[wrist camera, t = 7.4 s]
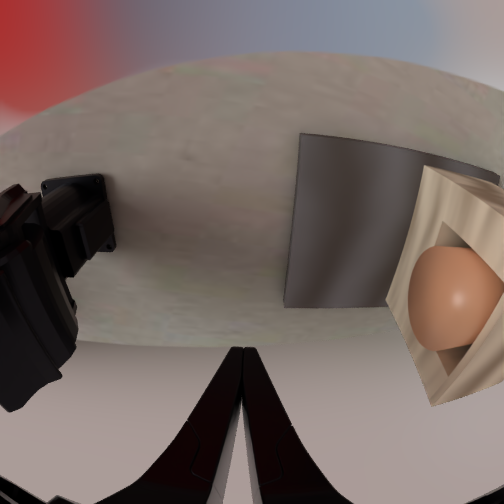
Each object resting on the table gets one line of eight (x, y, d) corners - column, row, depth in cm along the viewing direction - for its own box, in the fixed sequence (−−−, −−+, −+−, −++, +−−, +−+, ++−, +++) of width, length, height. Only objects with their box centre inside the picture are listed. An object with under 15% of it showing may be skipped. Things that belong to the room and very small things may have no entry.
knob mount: (283, 299, 24) (295, 432, 13) (300, 133, 17) (368, 197, 6) (449, 296, 24) (502, 385, 14) (493, 172, 17) (589, 240, 6)
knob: (398, 304, 18) (431, 372, 12) (426, 227, 14) (482, 289, 9) (465, 300, 18) (500, 353, 12) (494, 234, 14) (543, 283, 9)
